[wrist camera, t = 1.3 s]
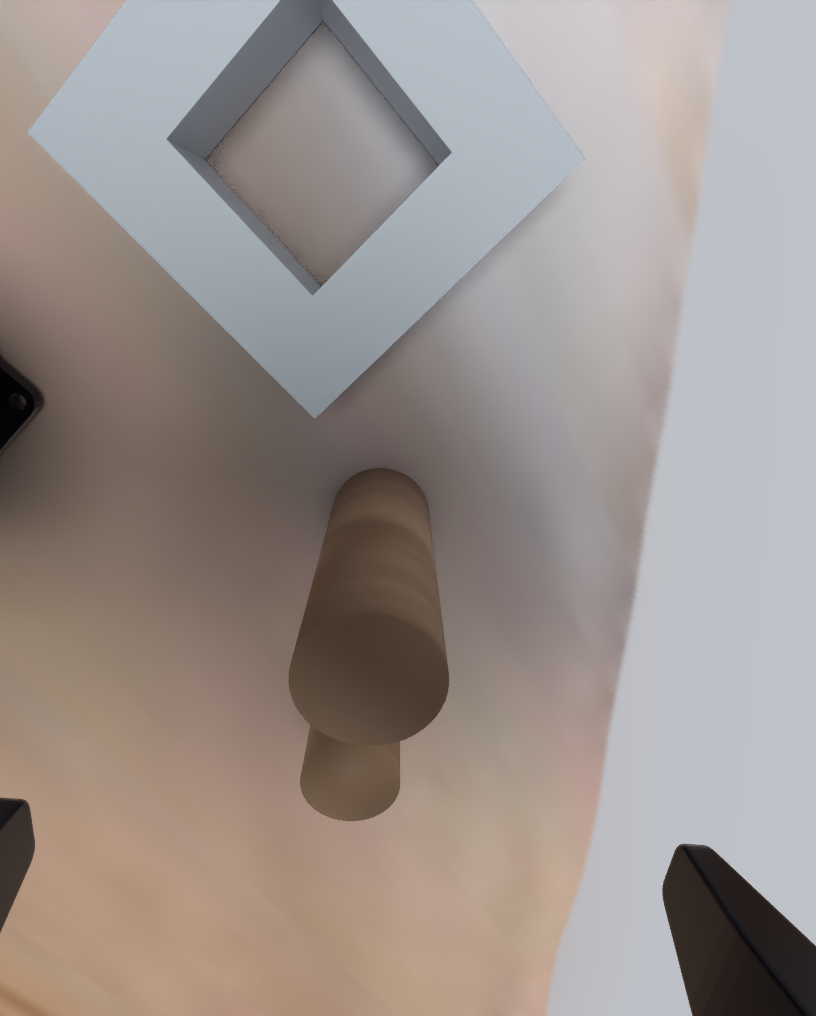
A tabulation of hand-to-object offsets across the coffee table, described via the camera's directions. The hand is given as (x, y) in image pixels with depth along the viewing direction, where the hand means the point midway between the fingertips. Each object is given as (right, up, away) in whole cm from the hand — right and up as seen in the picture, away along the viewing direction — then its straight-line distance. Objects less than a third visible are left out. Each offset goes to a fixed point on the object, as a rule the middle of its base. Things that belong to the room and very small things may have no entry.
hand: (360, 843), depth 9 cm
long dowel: (0, +4, +12) cm, 13 cm away
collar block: (-2, +14, +8) cm, 16 cm away
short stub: (-1, -3, +15) cm, 15 cm away
